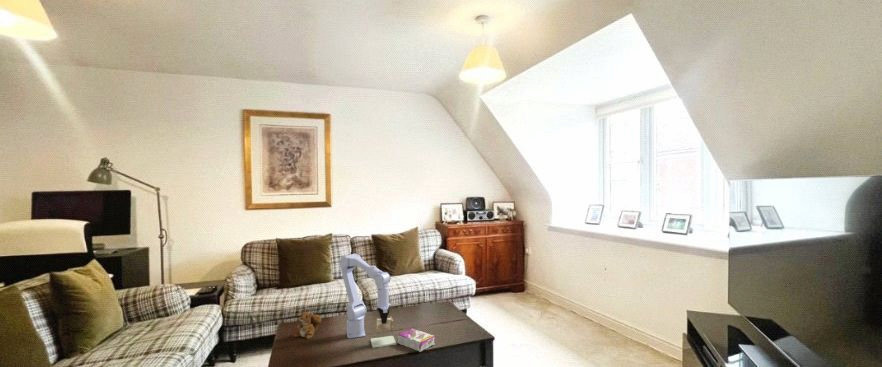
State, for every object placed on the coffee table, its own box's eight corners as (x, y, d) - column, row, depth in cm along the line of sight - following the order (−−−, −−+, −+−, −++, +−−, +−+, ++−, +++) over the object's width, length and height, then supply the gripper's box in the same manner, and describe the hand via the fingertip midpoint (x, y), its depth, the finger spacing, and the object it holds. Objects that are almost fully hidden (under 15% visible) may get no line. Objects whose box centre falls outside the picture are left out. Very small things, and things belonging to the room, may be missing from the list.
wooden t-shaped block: (377, 331, 194) (378, 321, 194) (375, 326, 200) (376, 316, 200) (392, 330, 196) (393, 320, 196) (390, 325, 203) (391, 316, 203)
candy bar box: (412, 327, 204) (435, 335, 194) (412, 336, 204) (435, 345, 194) (396, 334, 196) (420, 342, 185) (397, 343, 196) (420, 352, 185)
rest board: (372, 347, 191) (372, 346, 191) (370, 340, 201) (370, 338, 201) (396, 344, 195) (396, 342, 195) (393, 337, 204) (392, 335, 204)
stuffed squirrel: (292, 337, 207) (291, 313, 207) (311, 328, 219) (310, 305, 219) (305, 340, 202) (305, 316, 202) (324, 331, 215) (324, 308, 215)
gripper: (393, 299, 192) (393, 326, 192) (388, 291, 206) (389, 316, 206) (379, 301, 190) (379, 328, 190) (375, 293, 204) (376, 318, 204)
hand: (383, 322), depth 198 cm, fingers closed on wooden t-shaped block, 2 cm apart
